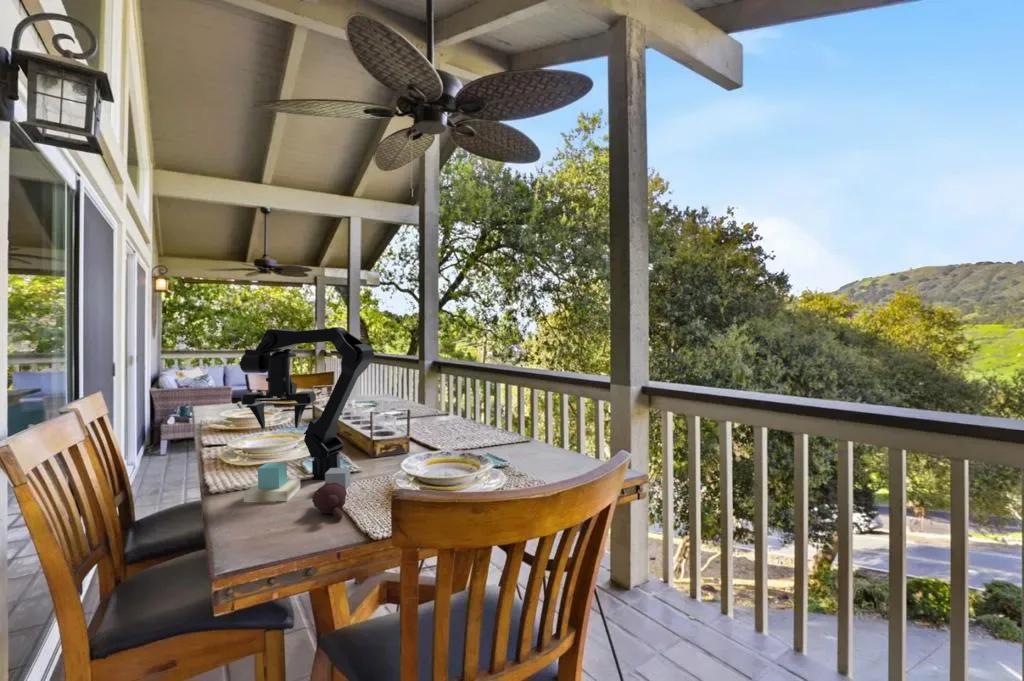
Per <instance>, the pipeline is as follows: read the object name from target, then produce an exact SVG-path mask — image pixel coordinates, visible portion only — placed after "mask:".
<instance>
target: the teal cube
mask: <svg viewBox="0 0 1024 681" xmlns="http://www.w3.org/2000/svg"><path fill="white" fill-rule="evenodd" d="M287 466H288V463H287V462H265V463H264V464H262V465H261V466H260V467H257V482H258V489H273V488H280V487H282V486H283V485H284V484H285V483H287V479H288V468H287Z"/></svg>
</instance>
